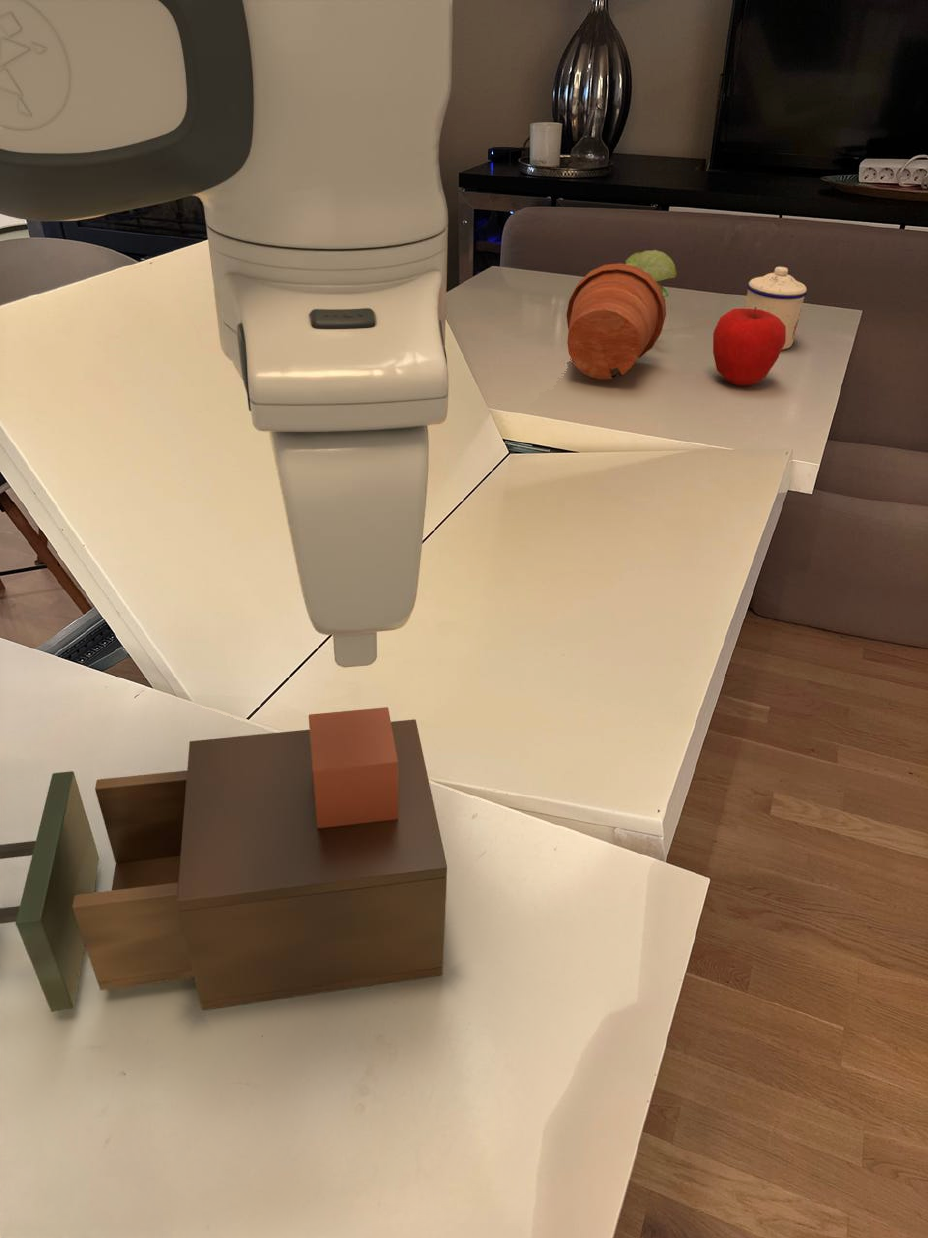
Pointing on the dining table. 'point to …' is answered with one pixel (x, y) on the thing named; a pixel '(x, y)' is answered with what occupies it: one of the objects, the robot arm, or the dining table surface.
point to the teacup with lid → (778, 299)
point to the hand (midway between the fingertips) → (346, 596)
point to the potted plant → (618, 314)
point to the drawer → (111, 920)
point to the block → (354, 767)
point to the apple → (747, 345)
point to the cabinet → (304, 875)
